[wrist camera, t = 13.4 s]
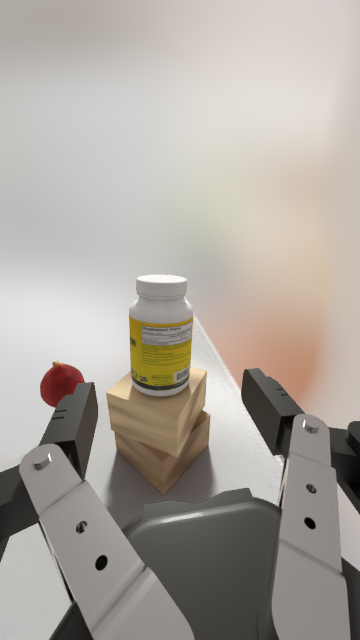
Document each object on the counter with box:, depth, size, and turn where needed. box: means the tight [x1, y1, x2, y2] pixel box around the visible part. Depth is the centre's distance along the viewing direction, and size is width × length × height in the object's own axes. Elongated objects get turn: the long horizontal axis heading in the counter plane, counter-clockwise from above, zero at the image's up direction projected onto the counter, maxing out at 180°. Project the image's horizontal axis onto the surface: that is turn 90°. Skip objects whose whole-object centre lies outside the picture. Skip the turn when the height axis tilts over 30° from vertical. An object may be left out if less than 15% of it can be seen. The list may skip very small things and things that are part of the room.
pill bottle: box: [129, 275, 193, 396], centre depth 24 cm, size 6×6×11 cm
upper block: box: [106, 367, 207, 458], centre depth 27 cm, size 8×8×5 cm
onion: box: [40, 361, 85, 408], centre depth 35 cm, size 6×6×8 cm
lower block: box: [114, 410, 210, 495], centre depth 29 cm, size 8×8×5 cm
